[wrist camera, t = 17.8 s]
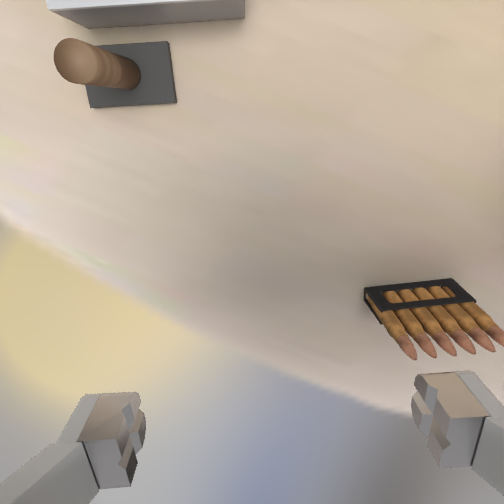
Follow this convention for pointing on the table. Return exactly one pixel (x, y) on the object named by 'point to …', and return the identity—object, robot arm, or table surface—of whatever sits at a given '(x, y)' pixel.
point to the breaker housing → (145, 11)
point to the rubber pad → (152, 77)
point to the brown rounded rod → (95, 65)
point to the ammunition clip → (432, 316)
